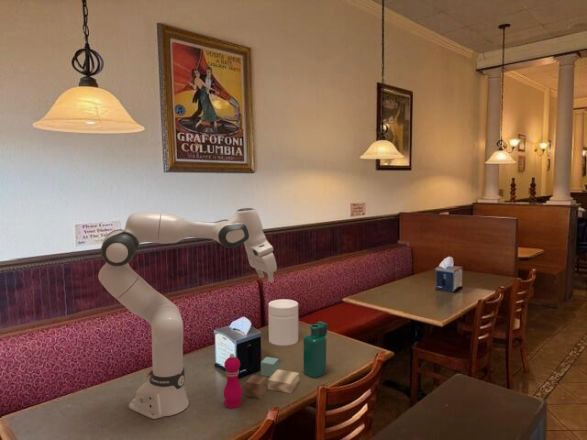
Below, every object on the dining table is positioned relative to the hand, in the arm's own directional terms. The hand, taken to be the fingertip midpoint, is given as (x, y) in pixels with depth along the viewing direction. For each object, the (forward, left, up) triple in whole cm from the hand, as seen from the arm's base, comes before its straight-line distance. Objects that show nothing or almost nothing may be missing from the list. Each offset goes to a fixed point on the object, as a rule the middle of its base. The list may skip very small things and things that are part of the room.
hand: (266, 279), depth 165 cm
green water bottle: (+14, +22, -47) cm, 53 cm away
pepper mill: (-8, -14, -47) cm, 49 cm away
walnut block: (-3, -4, -46) cm, 47 cm away
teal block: (-5, +14, -46) cm, 49 cm away
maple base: (+5, +6, -46) cm, 47 cm away
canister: (-14, +52, -47) cm, 71 cm away
